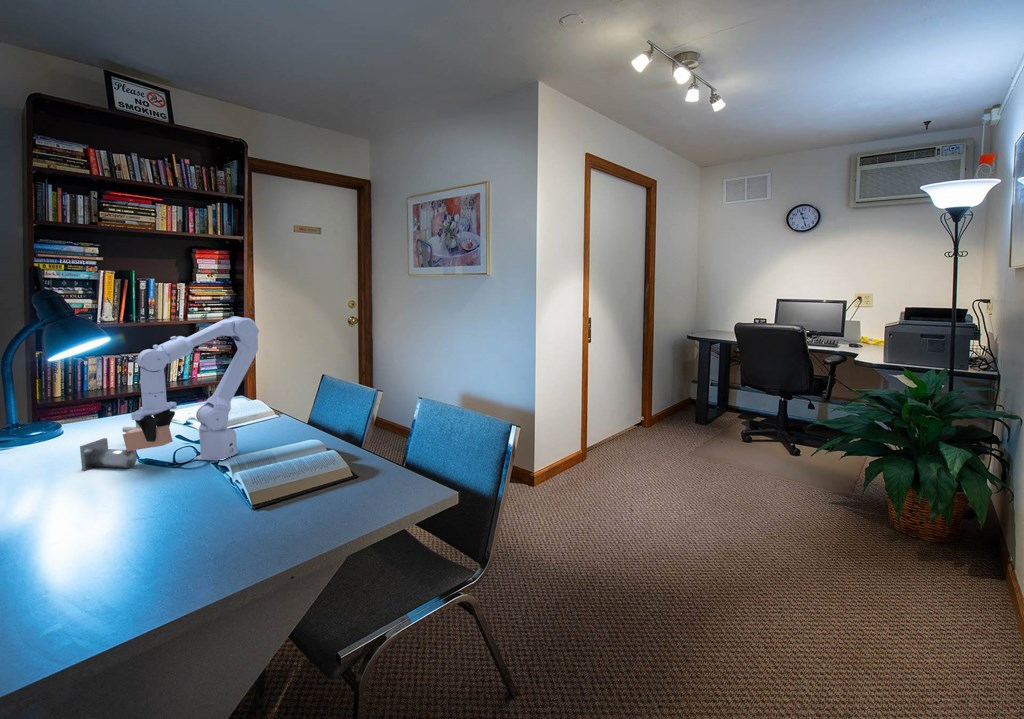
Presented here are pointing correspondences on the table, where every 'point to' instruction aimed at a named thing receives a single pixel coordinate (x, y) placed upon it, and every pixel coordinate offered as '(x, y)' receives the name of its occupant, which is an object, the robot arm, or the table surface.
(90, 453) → the grey cylinder with plate
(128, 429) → the pipe connector
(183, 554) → the table surface
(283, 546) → the table surface
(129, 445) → the tan piece
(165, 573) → the table surface
